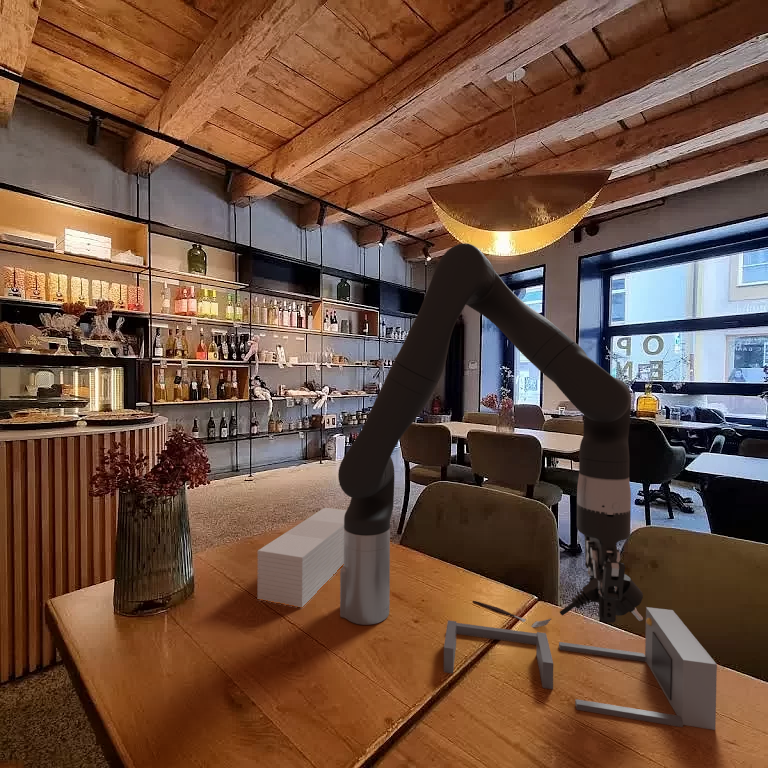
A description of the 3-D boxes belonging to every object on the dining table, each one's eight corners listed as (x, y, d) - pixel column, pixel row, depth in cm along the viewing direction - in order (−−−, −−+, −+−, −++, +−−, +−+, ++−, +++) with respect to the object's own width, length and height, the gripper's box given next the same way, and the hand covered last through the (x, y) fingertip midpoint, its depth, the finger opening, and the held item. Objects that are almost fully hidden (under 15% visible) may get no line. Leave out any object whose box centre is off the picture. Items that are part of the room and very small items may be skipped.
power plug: (554, 600, 72) (613, 558, 70) (585, 638, 71) (646, 596, 70) (560, 619, 67) (625, 573, 65) (595, 660, 66) (661, 615, 64)
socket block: (576, 709, 62) (577, 647, 62) (558, 646, 77) (559, 595, 77) (717, 733, 58) (718, 666, 58) (670, 661, 73) (671, 608, 73)
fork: (475, 601, 93) (475, 591, 93) (551, 628, 83) (551, 618, 83) (469, 605, 91) (470, 596, 91) (547, 634, 81) (547, 624, 81)
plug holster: (443, 672, 70) (443, 647, 70) (449, 629, 82) (449, 608, 82) (552, 689, 66) (553, 663, 66) (542, 642, 78) (542, 620, 78)
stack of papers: (324, 545, 122) (324, 507, 122) (359, 550, 119) (359, 511, 119) (257, 600, 92) (257, 550, 92) (302, 609, 89) (302, 557, 89)
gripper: (568, 490, 76) (567, 586, 76) (588, 516, 62) (586, 633, 62) (615, 493, 74) (614, 591, 75) (646, 520, 60) (644, 641, 61)
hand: (601, 610), depth 68 cm, fingers closed on power plug, 5 cm apart
